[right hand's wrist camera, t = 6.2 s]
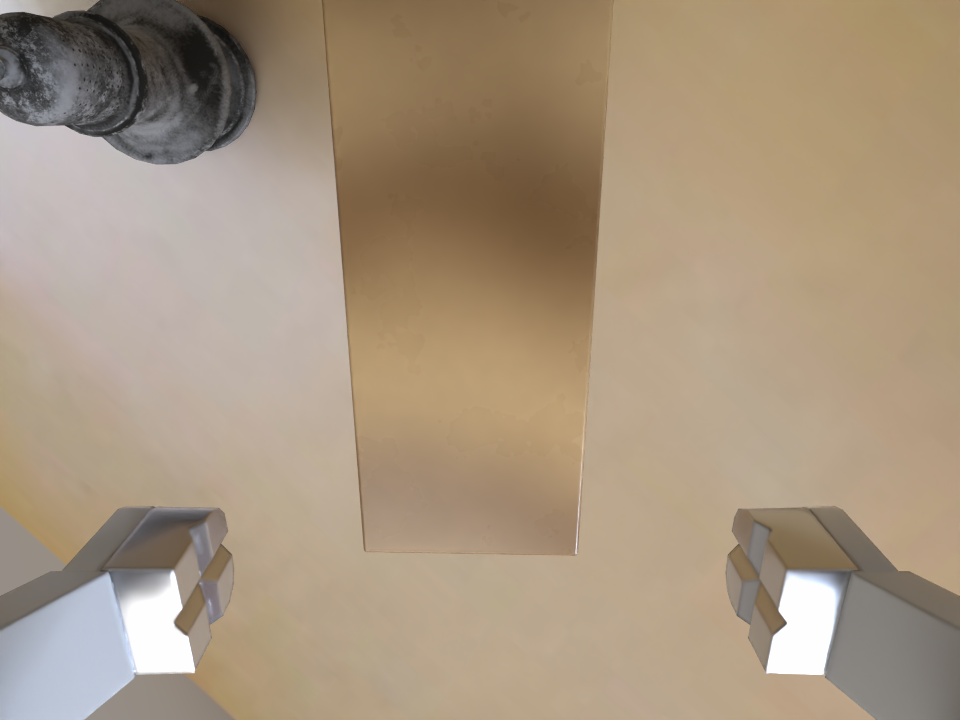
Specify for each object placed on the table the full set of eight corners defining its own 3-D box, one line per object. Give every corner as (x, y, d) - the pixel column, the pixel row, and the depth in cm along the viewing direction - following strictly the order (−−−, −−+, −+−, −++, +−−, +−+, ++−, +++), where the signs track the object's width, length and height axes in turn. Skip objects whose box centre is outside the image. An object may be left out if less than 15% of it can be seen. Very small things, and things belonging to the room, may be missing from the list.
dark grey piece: (98, 101, 28) (-177, 94, 16) (160, -29, 26) (-100, -136, 15) (221, 186, 29) (44, 235, 17) (289, 67, 27) (141, 37, 16)
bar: (552, 408, 22) (578, 556, 15) (408, 406, 22) (363, 553, 15) (595, -597, 14) (704, -1401, 6) (364, -592, 14) (215, -1371, 7)
